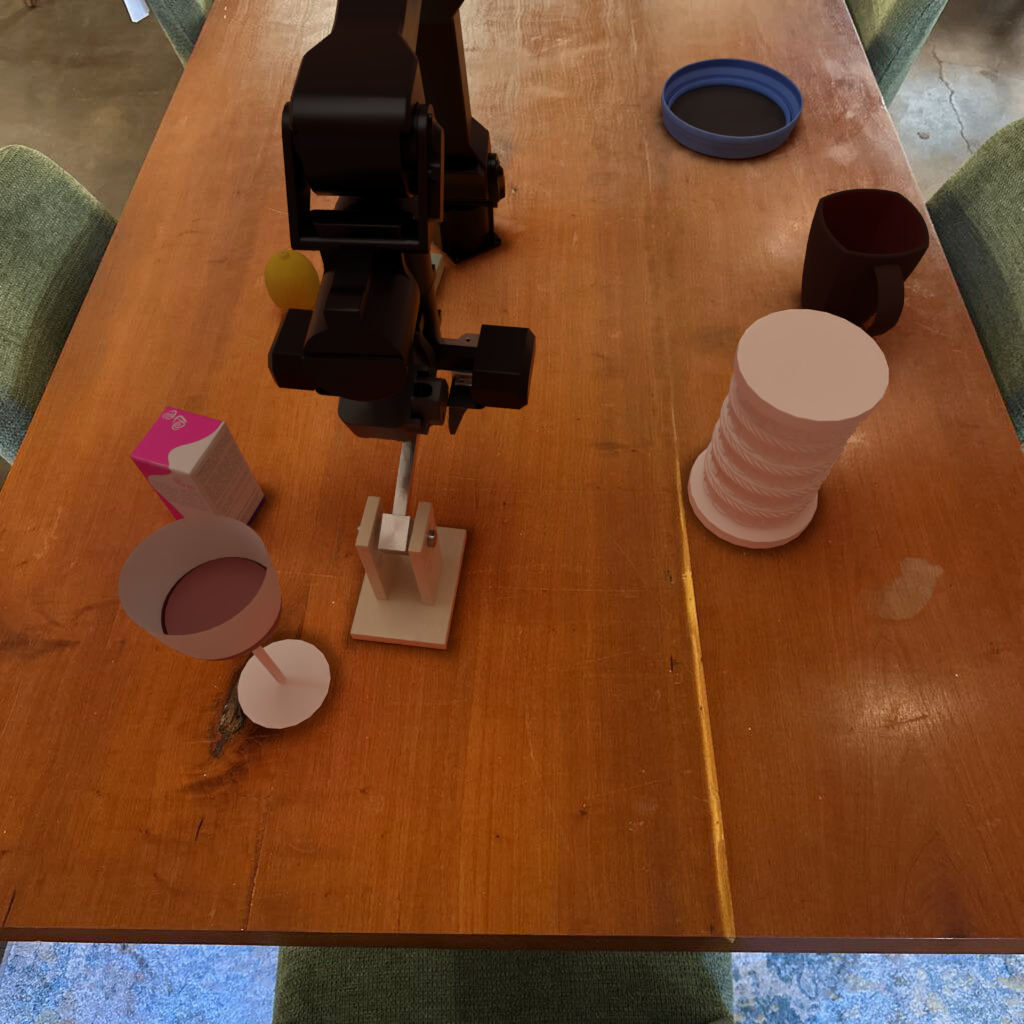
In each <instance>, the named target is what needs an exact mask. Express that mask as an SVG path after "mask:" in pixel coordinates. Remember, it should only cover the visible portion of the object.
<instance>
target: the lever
mask: <svg viewBox="0 0 1024 1024" xmlns="http://www.w3.org/2000/svg"><path fill="white" fill-rule="evenodd" d="M420 437H421V434H417V436H416V437H415V438H414V439H412V440H410V441H407V442H401V450H400V457H399V462H398V463H399V464H398V470H397V477H396V484H395V491H394V498H393V504H392V511H391V513H387V512H385V513H383V514H382V521H381V528H380V534H379V541H378V548H377V549H379V550H380V551H382V552H383V553H386V554H395V555H404V556H409V552H408V548H409V544H410V539H411V535H412V530H413V526H414V522H415V518H413V517H412V515H409V514H410V508H411V507H410V506H411V499H412V494H413V493H412V492H413V485H414V479H415V472H416V466H417V465H416V464H417V459H418V451H419V446H420V445H419V444H420Z"/></svg>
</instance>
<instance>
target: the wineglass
mask: <svg viewBox="0 0 1024 1024" xmlns="http://www.w3.org/2000/svg"><path fill="white" fill-rule="evenodd" d="M120 570H121V571H120V573H119V577H118V585H117V591H118V599H119V602H120V605H121V607H122V609H123V611H124V612H125V614H126V616H128V617H129V619H130V620H131V621H132V622H134V623H135V624H136V625H137V626H138V627H140V628H141V629H142V630H143V631H145V632H146V633H148V634H149V635H150V636H152V637H153V638H155V639H156V640H157V641H159V642H161V643H162V644H163V645H164V646H166V647H168V648H170V649H172V650H173V651H175V652H178V653H180V654H181V655H184V656H187V657H190V658H192V659H197V660H202V661H210V662H213V661H215V662H217V661H218V662H219V661H227V660H232V659H237V658H241V657H243V656H246V655H247V654H251V653H252V654H253V656H251V657H250V658H249V659H248V661H247V662H246V663H245V665H244V667H243V669H242V671H241V673H240V676H239V680H238V683H237V698H238V700H237V701H238V703H239V705H240V708H241V710H242V712H243V714H244V715H245V716H246V717H247V718H249V720H251V722H253V723H254V724H257V725H259V726H261V727H263V728H266V729H278V730H281V729H286V728H290V727H294V726H297V725H299V724H301V723H302V722H304V721H306V720H307V719H309V718H310V717H312V716H313V714H314V713H315V712H316V711H317V710H318V709H319V708H320V707H321V706H322V705H323V702H324V701H325V699H326V697H327V695H328V693H329V688H330V684H331V679H332V678H331V672H330V671H331V670H330V665H329V662H328V660H327V659H326V656H325V654H324V653H323V652H322V651H321V650H320V649H319V648H318V647H316V645H314V644H312V643H309V642H307V641H304V640H302V639H292V638H291V639H289V638H287V639H282V640H278V641H273V642H271V643H270V644H268V645H265V646H264V647H263V646H262V645H264V644H265V643H266V642H267V641H268V640H269V639H270V638H271V637H272V635H273V634H274V633H275V631H276V629H277V628H278V626H279V624H280V621H281V618H282V612H283V596H282V590H281V585H280V581H279V577H278V576H279V575H278V573H277V572H278V571H277V569H276V567H275V565H274V563H273V560H272V558H271V555H270V553H269V551H268V549H267V547H266V545H265V544H264V542H263V540H262V538H261V537H260V536H259V535H258V533H257V532H256V531H255V530H254V529H253V528H252V527H251V526H250V525H249V526H247V525H246V524H244V523H243V522H241V521H238V520H236V519H233V518H230V517H226V516H219V515H198V516H191V517H187V518H183V519H179V520H174V521H171V522H168V523H166V524H165V525H163V526H161V527H159V528H157V529H155V531H152V532H151V533H149V534H148V535H147V536H146V537H144V538H143V539H142V540H141V541H140V542H139V543H138V544H137V545H136V546H135V547H134V548H133V549H132V551H131V552H130V554H128V556H127V558H126V560H125V561H124V564H123V565H122V568H121V569H120Z"/></svg>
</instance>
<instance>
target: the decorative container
mask: <svg viewBox="0 0 1024 1024" xmlns="http://www.w3.org/2000/svg"><path fill="white" fill-rule="evenodd" d="M732 370H733V374H732V376H731V379H730V382H729V385H728V386H729V387H728V393H727V395H726V396H725V398H724V400H723V401H722V405H721V408H720V413H719V418H718V419H717V422H716V423H715V425H714V427H713V431H712V435H711V440H710V442H709V444H708V445H707V447H706V448H705V449H704V450H703V451H702V452H701V453H699V455H698V456H697V458H696V459H695V461H694V463H693V465H692V467H691V469H690V473H689V475H688V476H689V477H688V482H687V488H686V489H687V495H688V501H689V504H690V506H691V509H692V510H693V512H694V515H695V516H696V518H697V519H698V520H699V521H700V523H701V524H702V525H703V526H704V528H706V529H707V530H709V532H711V533H712V534H713V535H715V536H716V537H718V538H719V539H721V540H723V541H726V542H728V543H730V544H732V545H734V546H739V547H744V548H748V549H772V548H775V547H780V546H784V545H786V544H788V543H790V542H792V541H793V540H795V539H796V538H798V537H799V536H800V535H801V534H802V533H803V532H804V531H805V530H806V528H807V527H808V526H809V525H810V523H811V521H812V520H813V517H814V515H815V513H816V510H817V508H818V499H819V490H820V489H821V485H823V483H824V481H826V480H827V479H828V476H830V474H831V470H832V469H833V467H834V463H836V462H837V460H838V459H839V458H841V455H842V453H844V451H845V447H846V446H847V445H848V440H849V439H850V438H851V437H852V436H853V434H855V433H856V431H857V428H859V427H860V423H862V422H863V421H865V420H866V419H867V418H868V417H869V416H870V415H871V414H872V413H873V412H874V411H875V410H876V409H877V407H878V406H879V404H880V403H881V401H882V399H883V398H884V396H885V394H886V391H887V389H888V387H889V383H890V368H889V366H888V361H887V359H886V356H885V353H884V352H883V351H882V349H881V348H880V346H879V345H878V343H877V342H876V341H875V340H874V339H873V337H870V336H869V335H868V334H867V333H865V332H864V331H863V330H862V329H861V328H859V327H858V326H856V325H854V324H852V323H851V322H849V321H847V320H845V319H843V318H840V317H838V316H835V315H832V314H829V313H827V312H821V311H815V310H809V309H802V308H791V309H789V308H788V309H784V310H780V311H779V310H778V311H775V312H771V313H769V314H767V315H764V316H762V317H760V318H758V319H756V320H755V321H754V322H753V323H752V324H750V325H749V326H748V327H747V328H746V329H745V331H744V332H743V334H742V336H741V338H740V339H739V341H738V344H737V346H736V350H735V353H734V357H733V363H732Z"/></svg>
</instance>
